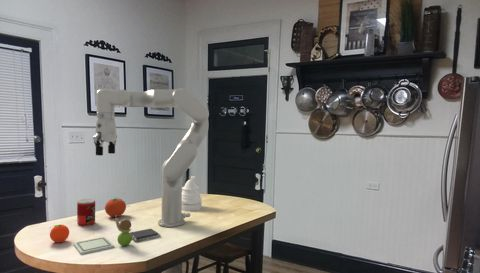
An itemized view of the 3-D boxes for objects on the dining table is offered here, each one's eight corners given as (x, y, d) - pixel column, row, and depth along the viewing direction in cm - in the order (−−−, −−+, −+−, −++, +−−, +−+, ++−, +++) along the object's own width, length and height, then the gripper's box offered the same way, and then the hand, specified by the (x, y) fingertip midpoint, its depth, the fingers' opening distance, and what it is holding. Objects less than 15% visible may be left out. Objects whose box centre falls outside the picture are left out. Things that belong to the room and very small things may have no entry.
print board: (104, 238, 136) (104, 236, 136) (114, 247, 126) (114, 244, 126) (73, 244, 128) (73, 242, 128) (80, 254, 119) (80, 252, 119)
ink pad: (151, 231, 146) (151, 227, 146) (160, 236, 139) (160, 233, 139) (127, 236, 139) (127, 232, 139) (135, 242, 132) (135, 238, 132)
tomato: (100, 218, 164) (100, 198, 164) (112, 213, 174) (113, 194, 174) (118, 220, 162) (118, 200, 161) (130, 214, 172) (130, 195, 171)
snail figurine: (117, 243, 131) (117, 213, 131) (133, 242, 132) (133, 213, 131) (113, 248, 126) (113, 217, 125) (130, 247, 126) (130, 217, 126)
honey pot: (190, 204, 196) (190, 174, 196) (206, 207, 189) (206, 176, 188) (174, 208, 186) (174, 177, 185) (190, 212, 178) (190, 179, 178)
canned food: (88, 226, 151) (88, 203, 150) (73, 225, 152) (73, 202, 152) (98, 221, 158) (98, 199, 158) (84, 220, 160) (84, 198, 159)
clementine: (43, 244, 128) (43, 227, 127) (53, 238, 135) (53, 221, 134) (63, 245, 128) (63, 227, 127) (72, 239, 135) (72, 222, 134)
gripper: (102, 116, 139) (102, 156, 140) (123, 117, 157) (123, 153, 157) (86, 116, 141) (86, 155, 141) (108, 117, 158) (108, 152, 158)
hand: (105, 154), depth 149 cm, fingers open, 9 cm apart
